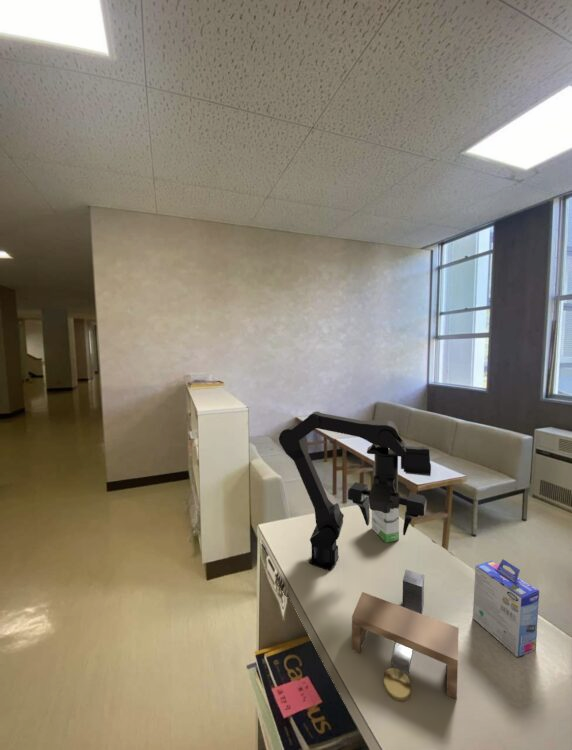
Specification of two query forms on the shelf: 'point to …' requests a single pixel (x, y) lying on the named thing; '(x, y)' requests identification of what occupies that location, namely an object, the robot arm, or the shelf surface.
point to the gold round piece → (397, 685)
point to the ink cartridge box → (506, 606)
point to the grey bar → (414, 602)
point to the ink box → (386, 524)
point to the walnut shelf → (407, 632)
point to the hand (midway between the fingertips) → (385, 529)
